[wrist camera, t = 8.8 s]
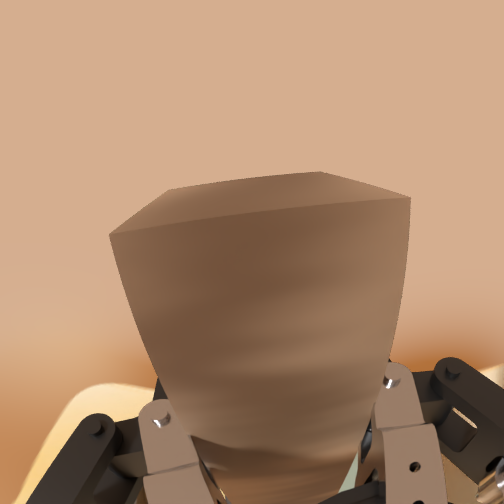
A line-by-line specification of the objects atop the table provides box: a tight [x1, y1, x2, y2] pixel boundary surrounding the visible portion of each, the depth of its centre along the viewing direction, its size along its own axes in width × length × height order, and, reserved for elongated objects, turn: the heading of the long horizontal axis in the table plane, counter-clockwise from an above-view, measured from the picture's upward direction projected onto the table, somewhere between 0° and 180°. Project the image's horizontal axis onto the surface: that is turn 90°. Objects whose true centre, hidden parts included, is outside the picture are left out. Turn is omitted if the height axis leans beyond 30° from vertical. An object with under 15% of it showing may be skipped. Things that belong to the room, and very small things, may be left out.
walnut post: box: [109, 172, 411, 504], centre depth 8 cm, size 4×4×15 cm
